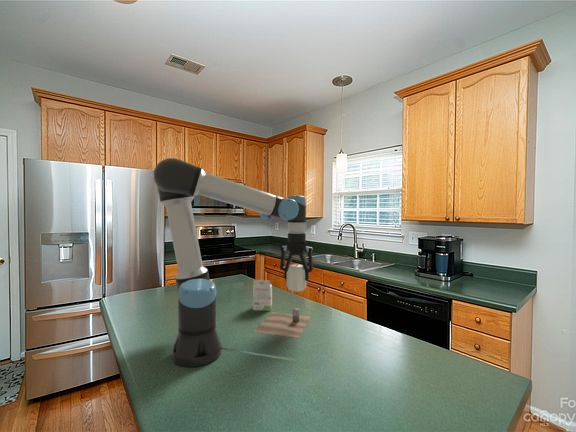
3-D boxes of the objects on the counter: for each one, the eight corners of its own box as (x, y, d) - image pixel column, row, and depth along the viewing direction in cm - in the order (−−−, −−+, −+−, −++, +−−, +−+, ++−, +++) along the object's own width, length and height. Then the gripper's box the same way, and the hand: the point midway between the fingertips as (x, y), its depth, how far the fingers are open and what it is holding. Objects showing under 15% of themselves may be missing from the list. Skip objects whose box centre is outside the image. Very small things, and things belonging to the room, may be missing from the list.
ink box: (272, 308, 136) (272, 277, 135) (270, 312, 131) (270, 280, 130) (254, 307, 136) (254, 277, 136) (252, 311, 132) (252, 279, 131)
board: (298, 339, 103) (298, 324, 103) (253, 333, 108) (253, 318, 108) (310, 317, 124) (311, 305, 124) (272, 313, 129) (272, 301, 129)
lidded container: (302, 291, 114) (302, 267, 114) (286, 290, 116) (287, 266, 116) (305, 287, 121) (305, 264, 120) (291, 286, 122) (291, 263, 122)
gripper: (321, 232, 119) (320, 286, 119) (277, 231, 124) (277, 283, 125) (317, 233, 112) (317, 291, 112) (271, 232, 117) (271, 287, 118)
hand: (296, 287), depth 118 cm, fingers closed on lidded container, 6 cm apart
